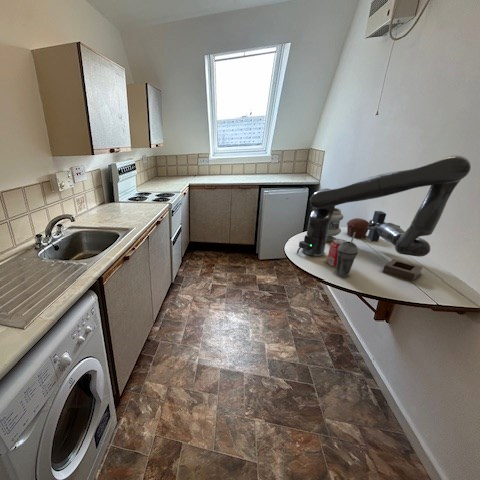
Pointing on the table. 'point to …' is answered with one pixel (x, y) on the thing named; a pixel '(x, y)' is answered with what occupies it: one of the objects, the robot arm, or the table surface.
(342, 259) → the beverage cup
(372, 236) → the dark gray rectangular block
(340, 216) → the apothecary jar
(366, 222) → the muffin
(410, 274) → the frame
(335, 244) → the soda can
